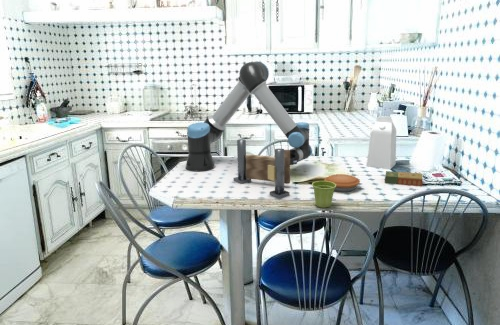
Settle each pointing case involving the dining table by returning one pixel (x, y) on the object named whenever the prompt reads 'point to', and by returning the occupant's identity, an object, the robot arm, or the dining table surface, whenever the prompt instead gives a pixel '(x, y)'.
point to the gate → (265, 166)
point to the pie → (343, 182)
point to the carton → (403, 178)
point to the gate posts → (273, 171)
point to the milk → (382, 144)
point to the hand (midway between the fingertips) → (268, 167)
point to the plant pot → (323, 193)
